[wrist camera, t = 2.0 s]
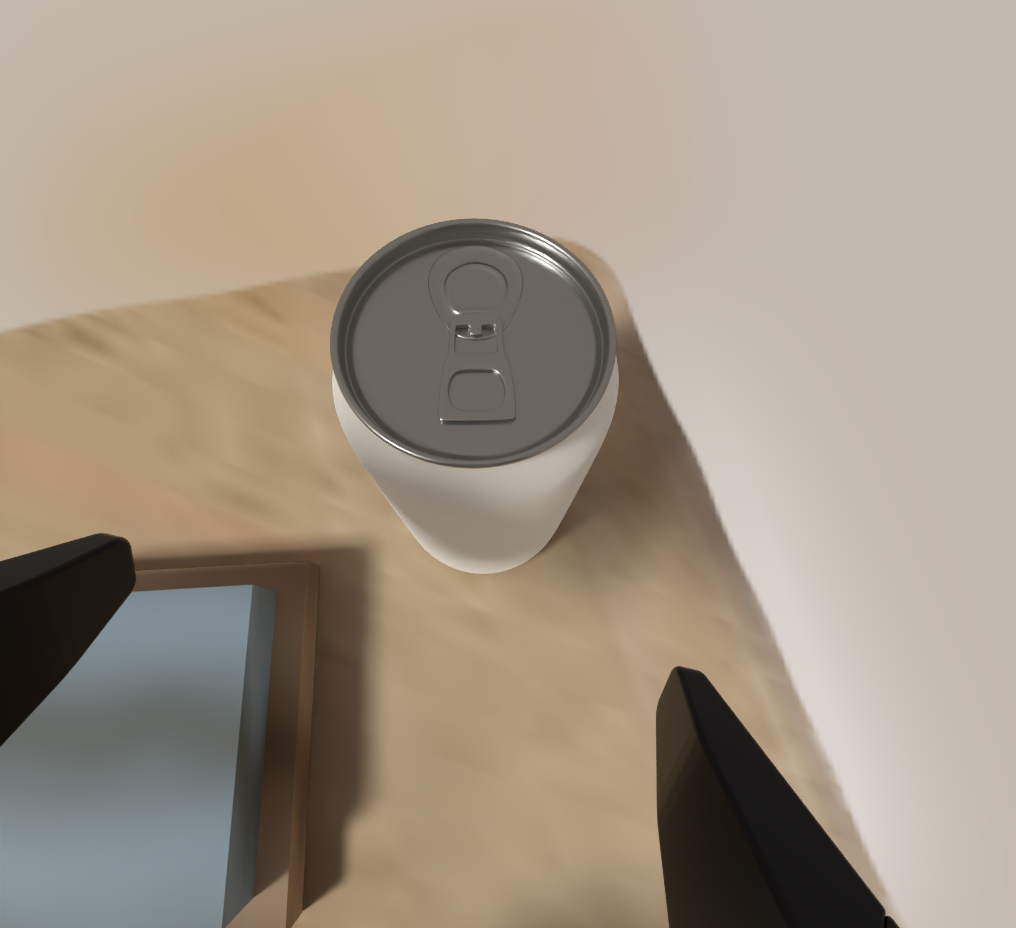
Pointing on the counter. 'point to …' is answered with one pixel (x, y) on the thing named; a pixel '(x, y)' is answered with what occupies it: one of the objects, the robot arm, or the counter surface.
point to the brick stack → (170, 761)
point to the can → (475, 385)
